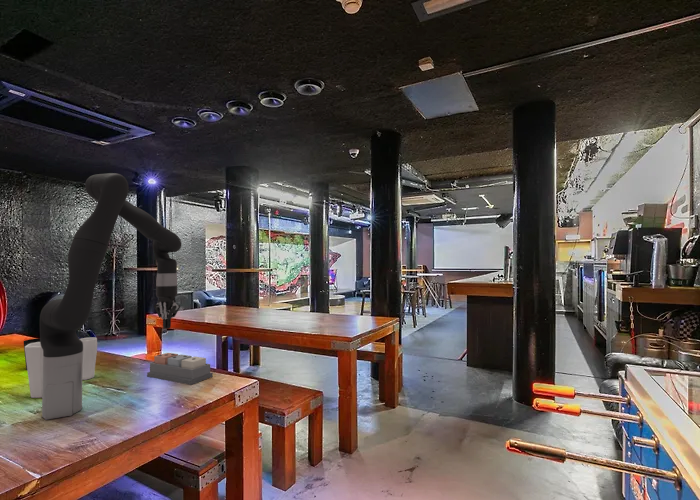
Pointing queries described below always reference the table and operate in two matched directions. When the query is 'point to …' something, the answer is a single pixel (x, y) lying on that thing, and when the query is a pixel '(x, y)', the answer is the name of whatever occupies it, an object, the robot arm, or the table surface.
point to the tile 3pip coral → (163, 358)
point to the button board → (179, 373)
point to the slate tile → (177, 360)
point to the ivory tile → (193, 362)
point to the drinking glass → (89, 357)
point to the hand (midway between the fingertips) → (166, 328)
